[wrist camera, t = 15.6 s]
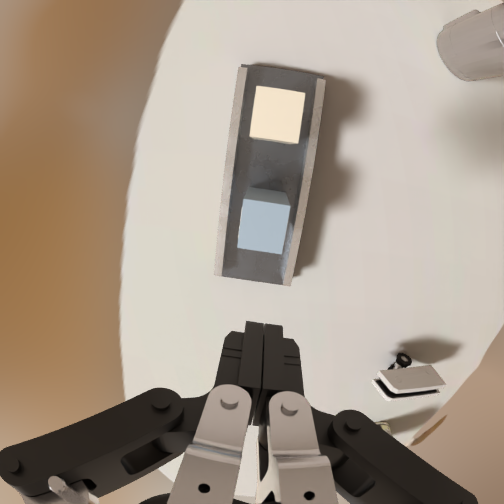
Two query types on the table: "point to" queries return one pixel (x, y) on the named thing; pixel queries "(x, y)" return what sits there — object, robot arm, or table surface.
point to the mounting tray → (267, 174)
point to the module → (263, 220)
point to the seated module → (277, 115)
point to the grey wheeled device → (407, 381)
